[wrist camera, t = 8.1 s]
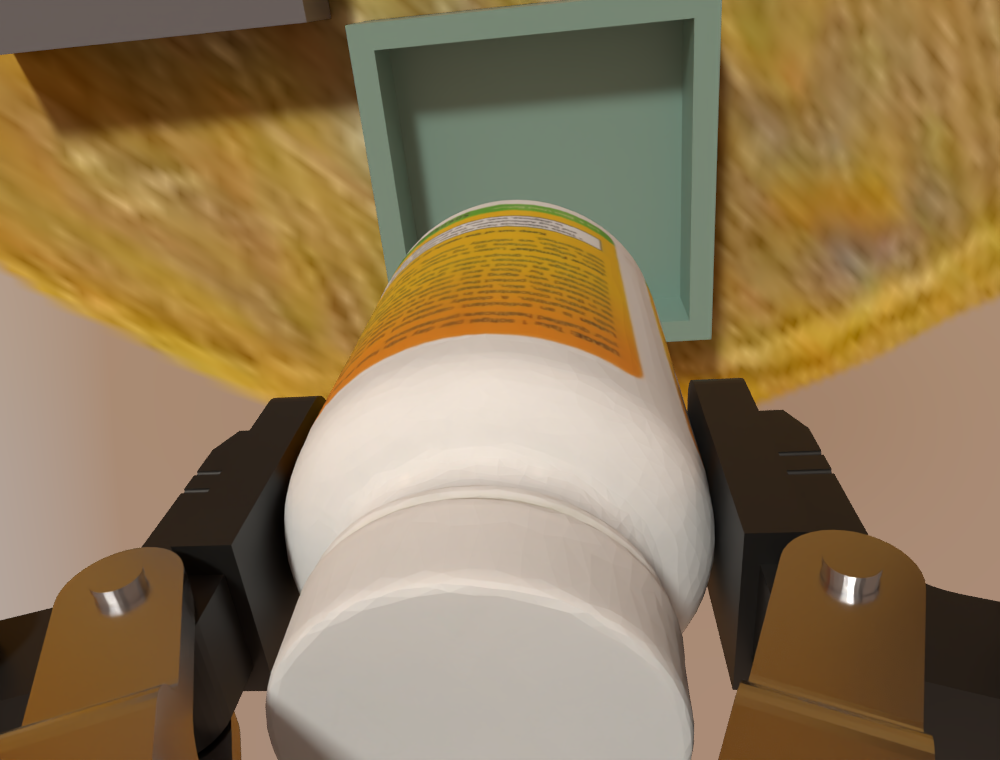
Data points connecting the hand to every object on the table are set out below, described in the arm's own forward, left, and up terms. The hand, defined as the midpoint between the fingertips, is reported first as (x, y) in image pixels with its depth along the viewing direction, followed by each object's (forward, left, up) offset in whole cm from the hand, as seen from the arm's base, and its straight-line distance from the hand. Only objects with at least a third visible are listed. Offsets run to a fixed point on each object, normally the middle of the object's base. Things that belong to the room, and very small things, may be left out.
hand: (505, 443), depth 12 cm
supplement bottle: (0, 0, -5) cm, 5 cm away
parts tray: (0, 0, -19) cm, 19 cm away
